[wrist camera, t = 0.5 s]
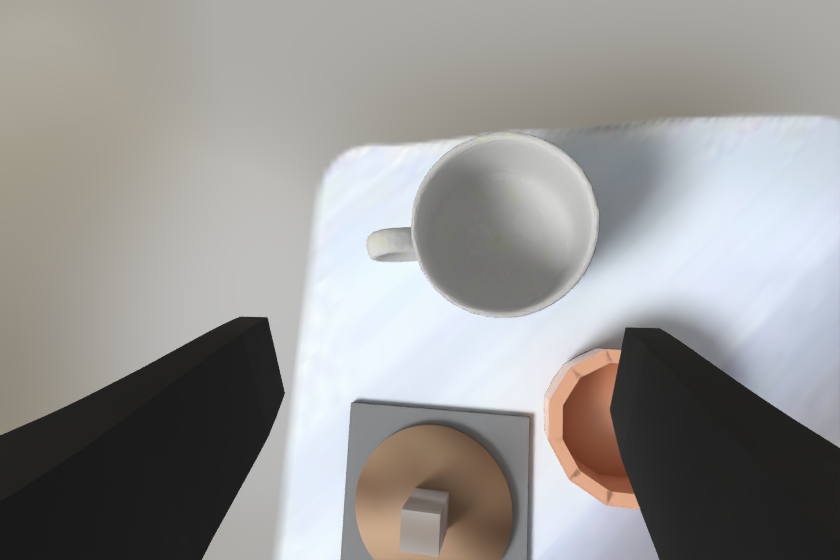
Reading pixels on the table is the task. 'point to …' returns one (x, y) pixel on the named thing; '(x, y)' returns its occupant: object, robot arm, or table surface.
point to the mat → (493, 431)
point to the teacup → (499, 225)
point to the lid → (433, 498)
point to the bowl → (588, 427)
